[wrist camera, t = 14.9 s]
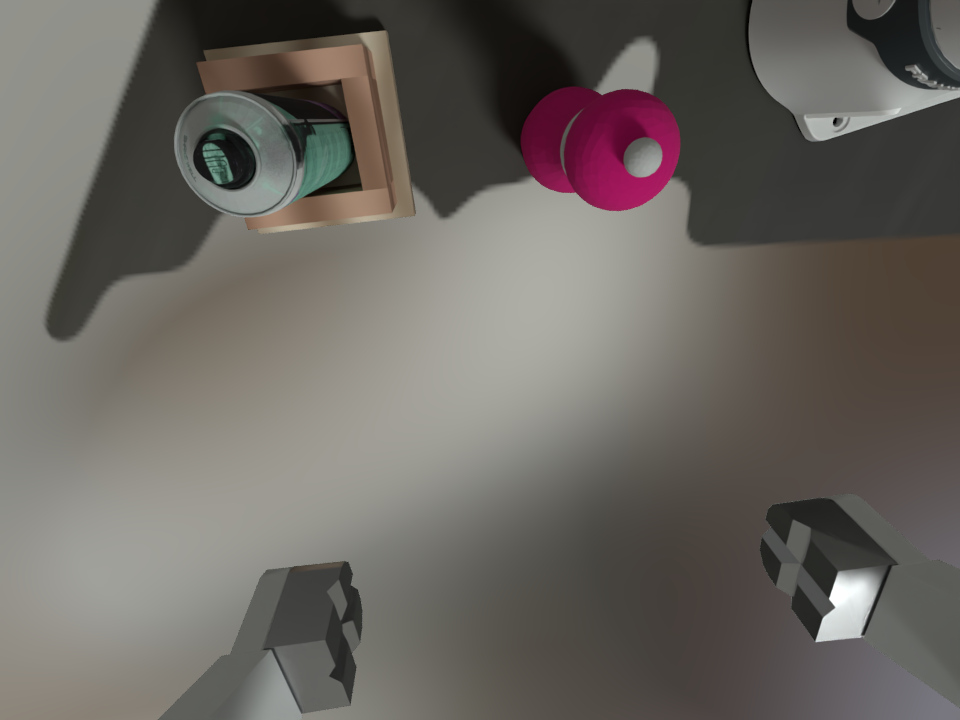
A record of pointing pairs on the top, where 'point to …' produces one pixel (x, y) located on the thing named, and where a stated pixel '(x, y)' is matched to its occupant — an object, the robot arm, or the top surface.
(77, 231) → the top surface
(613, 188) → the pepper mill
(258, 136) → the spray can
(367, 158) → the can holder
